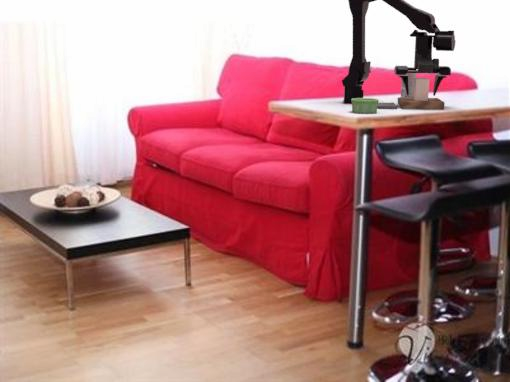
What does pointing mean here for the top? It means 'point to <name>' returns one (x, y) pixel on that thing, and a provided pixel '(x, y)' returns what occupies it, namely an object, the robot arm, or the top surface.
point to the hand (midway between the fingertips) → (420, 95)
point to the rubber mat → (386, 106)
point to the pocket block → (421, 103)
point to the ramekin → (364, 105)
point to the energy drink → (410, 84)
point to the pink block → (421, 89)
